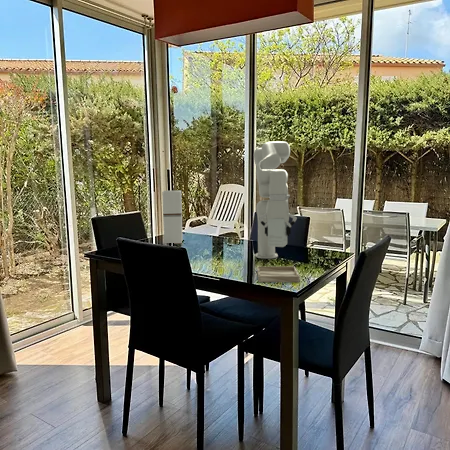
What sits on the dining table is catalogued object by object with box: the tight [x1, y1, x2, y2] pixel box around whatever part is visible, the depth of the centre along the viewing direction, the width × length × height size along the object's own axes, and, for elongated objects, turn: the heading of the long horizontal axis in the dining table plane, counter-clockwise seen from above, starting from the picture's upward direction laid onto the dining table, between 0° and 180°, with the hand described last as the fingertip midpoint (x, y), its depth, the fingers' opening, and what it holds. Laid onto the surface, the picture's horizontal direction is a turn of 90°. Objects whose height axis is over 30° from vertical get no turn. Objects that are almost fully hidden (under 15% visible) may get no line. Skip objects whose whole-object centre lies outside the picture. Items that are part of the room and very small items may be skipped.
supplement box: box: [268, 219, 288, 248], centre depth 188 cm, size 7×7×13 cm
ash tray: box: [256, 266, 301, 283], centre depth 191 cm, size 18×18×2 cm
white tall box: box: [162, 190, 183, 245], centre depth 268 cm, size 11×11×35 cm
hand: (277, 235), depth 189 cm, fingers closed on supplement box, 9 cm apart
